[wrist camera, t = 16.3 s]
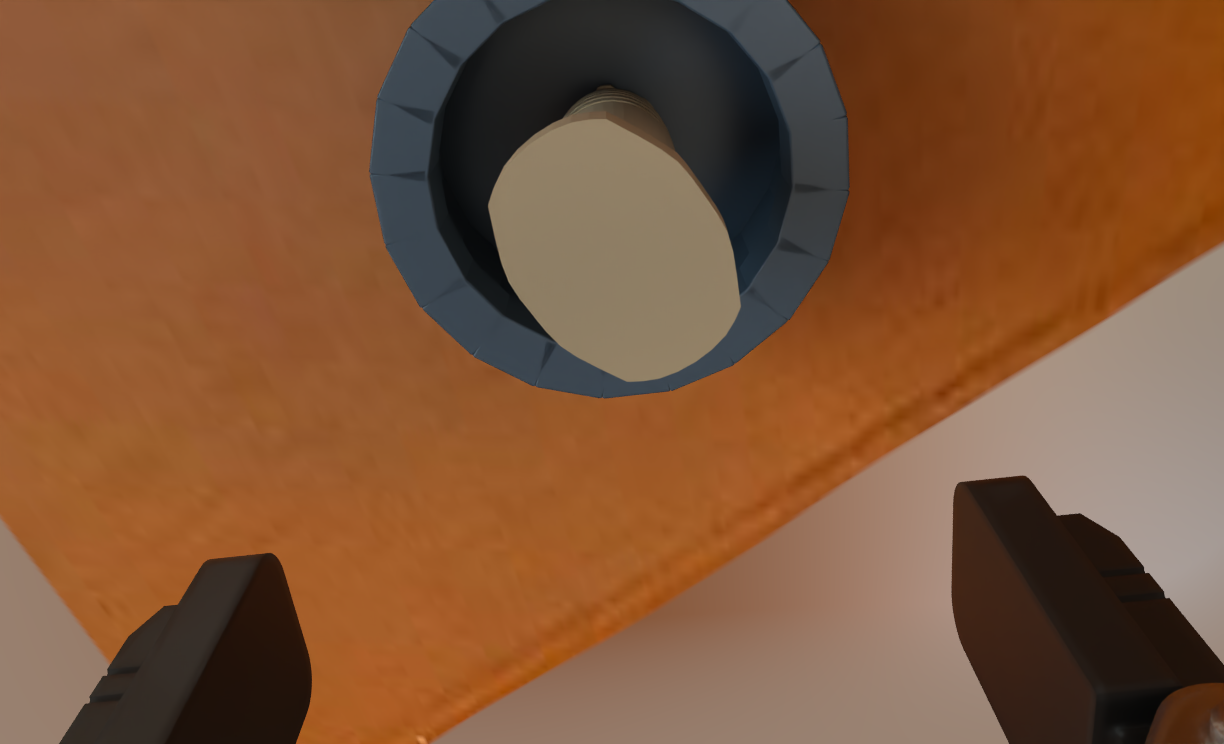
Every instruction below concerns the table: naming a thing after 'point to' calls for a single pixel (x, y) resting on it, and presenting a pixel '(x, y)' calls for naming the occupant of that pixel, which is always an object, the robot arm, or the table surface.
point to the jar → (542, 94)
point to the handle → (615, 240)
